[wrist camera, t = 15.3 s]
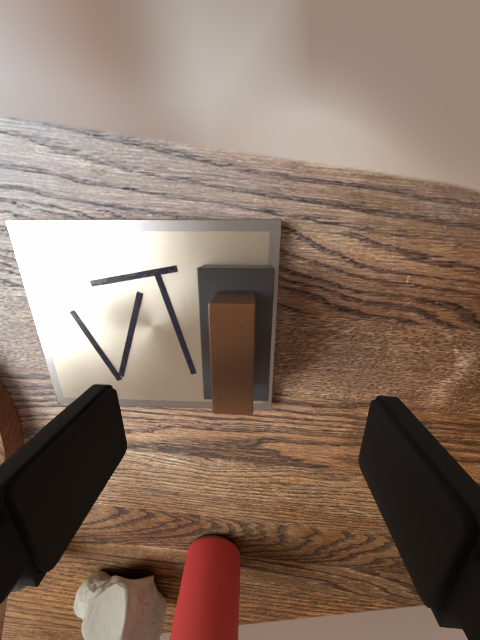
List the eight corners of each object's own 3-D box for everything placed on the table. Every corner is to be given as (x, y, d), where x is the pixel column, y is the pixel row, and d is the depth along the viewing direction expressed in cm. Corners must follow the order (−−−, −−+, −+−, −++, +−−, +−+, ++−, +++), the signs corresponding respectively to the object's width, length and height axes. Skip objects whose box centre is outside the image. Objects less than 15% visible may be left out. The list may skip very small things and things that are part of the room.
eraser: (203, 264, 17) (181, 274, 12) (271, 264, 17) (281, 274, 11) (208, 381, 20) (193, 432, 15) (266, 383, 20) (272, 435, 15)
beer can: (181, 535, 29) (135, 729, 17) (232, 528, 28) (220, 727, 16) (198, 567, 30) (166, 761, 19) (246, 562, 30) (244, 761, 18)
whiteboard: (279, 220, 17) (281, 219, 16) (270, 403, 22) (271, 411, 21) (17, 220, 18) (3, 219, 17) (65, 397, 23) (56, 404, 22)
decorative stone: (66, 582, 30) (50, 687, 21) (136, 525, 34) (147, 592, 26) (105, 638, 32) (105, 753, 23) (167, 577, 36) (186, 656, 28)
